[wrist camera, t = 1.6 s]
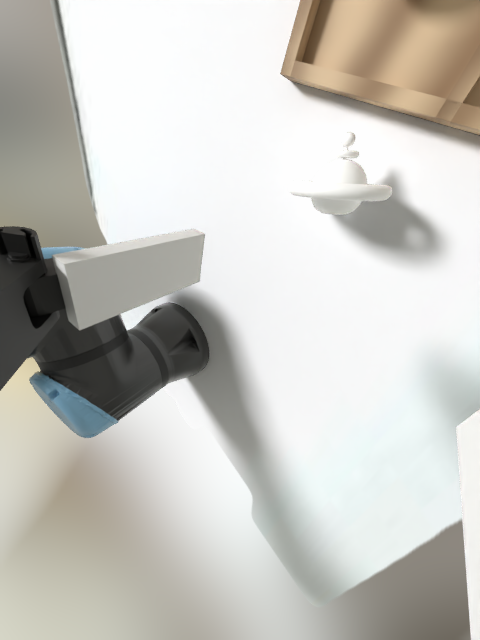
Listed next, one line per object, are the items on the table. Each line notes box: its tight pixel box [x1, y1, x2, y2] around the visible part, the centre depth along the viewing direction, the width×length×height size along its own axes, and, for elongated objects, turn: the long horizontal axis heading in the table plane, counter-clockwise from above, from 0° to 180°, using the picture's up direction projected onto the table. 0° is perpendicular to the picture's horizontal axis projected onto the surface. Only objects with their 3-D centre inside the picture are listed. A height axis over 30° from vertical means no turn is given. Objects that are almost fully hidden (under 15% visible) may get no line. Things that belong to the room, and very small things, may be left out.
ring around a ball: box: [289, 132, 392, 215], centre depth 20 cm, size 8×6×8 cm
